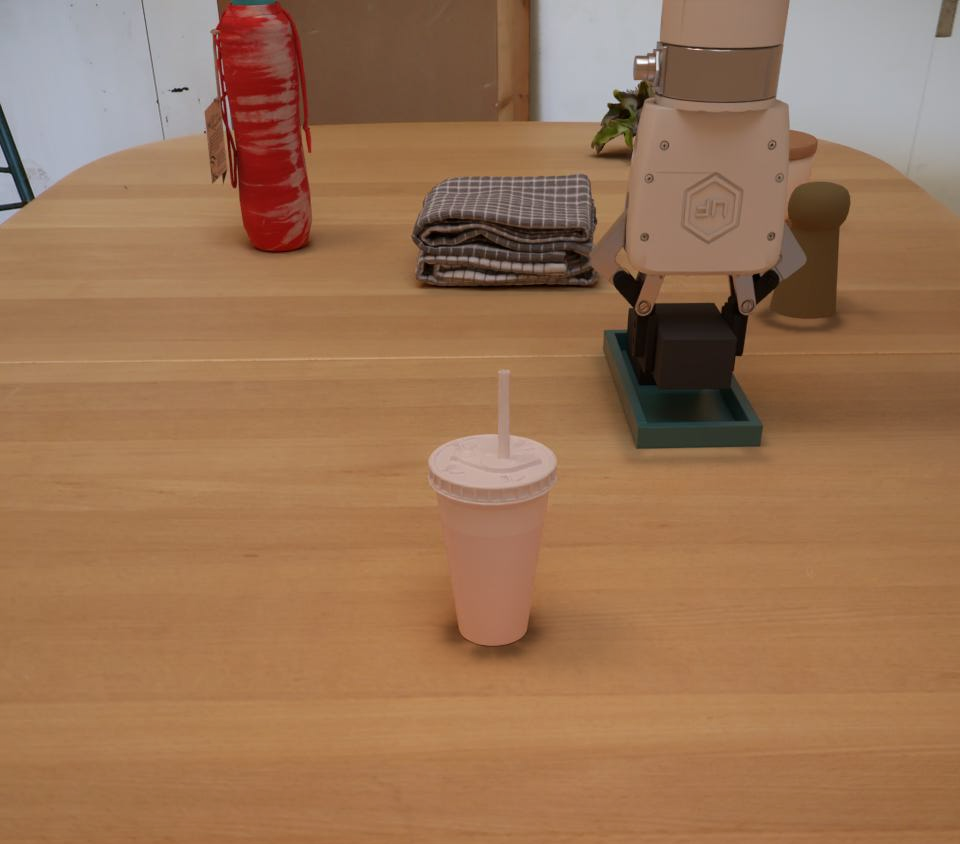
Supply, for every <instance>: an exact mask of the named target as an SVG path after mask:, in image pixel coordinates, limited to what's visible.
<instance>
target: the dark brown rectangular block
mask: <svg viewBox="0 0 960 844" xmlns="http://www.w3.org/2000/svg"><path fill="white" fill-rule="evenodd" d="M633 321H634V308H633V307H628V313H627V327H626V330H627V339H626V352H627V354H628V357H629V360H630V362H631V365H632V368H633V370H634V373H635V375H636V378H637V381H638V383H639V385H657V384H656V381H655V379H654V376H653V374H652V372H651V373H644V372H643V370H642V367H641V365H640V362H639V358H638V357H633V356H632V351H631V346H632V333H633Z"/></svg>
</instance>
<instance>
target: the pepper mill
mask: <svg viewBox="0 0 960 844" xmlns="http://www.w3.org/2000/svg"><path fill="white" fill-rule="evenodd" d="M850 209H851V195H850V192H849V190H848V189H847V188H846V187H845V186H843V185H841V184H839V183H835V182H829V181H811V182H810V181H809V183H804V184H801V185H799V186H798V187H796V188H795V189H794V191H793V192H792V194H791V197H790V199H789V202H788V217H789V218H788V219H789V221H790V223H791V226H790V230H791V232H792V233H793V235H794V237H795V238H796V240H797V242H798V243H799V245H800V246H801V248H802V250H803V251H804V253H805V255H806V257H807V260H806V263H805V264H804V265H803V266H802V267H801V268H800V269H798V270H797V271H796V272H794V273H793V274H792V275H790V276H789V277H788V278H786V279H785V280H782V281H781V282H780V283H779V284H778V286H777V287H776V288H775V289H774V290H773V291H772V292H773V293H772V296H771V299H770V302H769V303H770V304H769V309H770V310H771V312H773V313H775V314H777V315H780V316H784V317H787V318H793V319H804V320H813V319H815V320H816V319H822V318H823V319H825V318H828V317H831V316H833V315H835V314H836V312H837V311H836V310H837V295H838V294H837V290H838V272H839V271H838V269H839V249H840V228H841V226H842V225H843V224H844V223H845V221H846V220H847V218H848V216H849V213H850Z"/></svg>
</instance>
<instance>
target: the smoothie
mask: <svg viewBox="0 0 960 844" xmlns="http://www.w3.org/2000/svg"><path fill="white" fill-rule="evenodd" d="M510 421H511V371H510V370H509V369H500V370H498V371H497V433H484V434H474V435H468V436H461V437H459V438H456V439H453V440H449V441H447V442H445V443H443V444H441V445H440V446H438V447H437V448H436V449H434V450H433V451H432V453H431V454H430V455H429V457H428V462H427V463H428V473H427V482H428V484H429V487H430V488H431V489H432V490H433V491H435V493H436V499H437V506H438V512H439V517H440V523H441V529H442V535H443V542H444V548H445V554H446V559H447V565H448V572H449V577H450V583H451V589H452V595H453V602H454V607H455V614H456V619H457V626H458V632H459V633H460V635H461V636H462V637H463V638H464V639H466V640H467V641H469V642H471V643H473V644H477V645H481V646H486V647H487V646H489V647H497V646H505V645H509V644H513V643H515V642H517V641H519V640H520V639H522V638H523V637H524V636H525V635H526V633H527V630H528V625H529V620H530V613H531V607H532V601H533V595H534V589H535V582H536V576H537V570H538V565H539V558H540V557H539V556H540V551H541V545H542V538H543V534H544V533H543V532H544V526H545V521H546V515H547V510H548V502H549V495H550V491H552V490H553V489H554V488H555V485H556V484H557V482H558V472H557V471H558V470H557V467H558V459H557V456H556V454H555V452H554V451H553V450H551V448H549V447H548V446H546V445H545V444H543V443H541V442H539V441H536V440H535V439H531V438H528V437H524V436H520V435H513V434H511V432H510V430H511V429H510V428H511V427H510V426H511V422H510Z"/></svg>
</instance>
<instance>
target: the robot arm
mask: <svg viewBox="0 0 960 844" xmlns="http://www.w3.org/2000/svg"><path fill="white" fill-rule="evenodd" d="M790 1H791V0H662V4H661V14H660V26H659V40H658V41H656V47H655V48H653V50H652V52H647V53H646V55H635V56H634V60H633V68H632V72H633V73H632V76H633V81H642V80H645V82H646V83H651V85H652V86H653V89H654V90H655V97H654V98H648V99H646V100H645V101H644V105H643V108H642V112H641V116H640V120H639V124H638V128H637V132H636V136H634V143H633V149H632V154H631V159H630V166H629V174H628V178H627V179H628V180H627V186H626V194H625V200H624V201H625V202H624V208H623V211H622V212H621V214H620V215H619V216H618V217H617V219H615V221H614V222H613V224H612V225H611V226H610V228H608V229H607V231H606V232H605V233H604V234H603V236H602V237H601V238H600V239H599V241H598V242H597V243H596V244H595V247H594V248H593V249H592V251H591V252H590V253H589V257H588V258H589V262H590V264H591V266H592V268H594V269H595V270H596V271H597V272H598V273H599V276H601V277H602V278H603V279H605V280H606V281H607V282H608V283H610V284H611V285H612V286H613V287H615V289H616V291H617V292H618V293H619V294H620V295H621V296H622V297H623V299H625V300H626V302H627V303H628V304H629V305H630V306H631V308H634V321H633V333H632V346H631V351H632V356H633V357H638V358H639V362H640V365H641V367H642V370H643V372H644V373H651V372H652V371H654V362H655V352H656V341H657V331H658V327H659V317H658V315H657V313H656V311H655V309H656V305H655V303H656V301H657V298H658V295H659V293H660V290H661V289H662V285H663V283H664V280H665V277H666V276H727V284H728V288H729V294H730V295H729V296H728V297H727V301H724V303H723V305H722V306H721V308H720V313H721V315H722V316H723V318H724V319H725V321H726V322H727V324H728V326H729V327H730V329H731V330H732V332H733V333H734V335H735V337H736V338H737V344H736V351H735V358H734V365H733V372H734V371H735V364H736V357H743V354H744V349H745V341H746V335H747V327H748V321H749V315H751V314H753V313H754V312H755V311H756V308H757V305H759V304H760V303H761V302H762V301H763V300H764V299H765V298H766V297H767V296H768V295H770V294H771V293H772V292H774V289H775V288H776V287H777V286H778V284H779V283H780V282H781V281H782V280H785V279H786V278H788V277H789V276H790V275H792V274H793V273H794V272H796V271H797V270H798V269H800V268H801V267H802V266H803V265H804V264H805V263H806V260H807V257H806V255H805V253H804V251H803V250H802V248H801V246H800V245H799V243H798V242H797V240H796V238H795V237H794V235H793V233H792V232H791V227H790V226H789V225H788V223H787V222H786V220H785V209H786V196H787V184H788V168H789V144H790V130H791V128H790V125H791V124H790V108H789V107H790V106H789V104H788V103H787V102H784V101H782V100H780V99H777V94H778V89H779V80H780V73H781V66H782V59H783V54H784V53H783V52H784V46H785V45H784V43H785V37H786V36H785V35H786V30H787V22H788V15H789V8H790V3H791V2H790ZM622 249H623V250H624V252H625V253H626V258H627V260H628V263H629V264H630V265H631V267H632V268H633V270H636V271H638V272H637V274H636V277H634V276H633V274H632V273H631V272H630V271H629V270H628V269H627V268H626V267H624V266H623V265H621V264H620V263H619V261H617V259H616V258H617V255H618V254H619V252H620V251H621V250H622Z"/></svg>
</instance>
